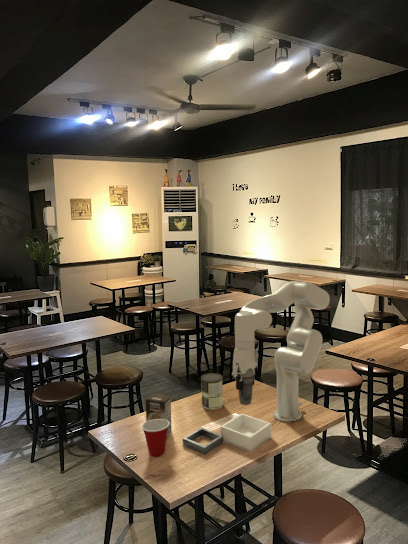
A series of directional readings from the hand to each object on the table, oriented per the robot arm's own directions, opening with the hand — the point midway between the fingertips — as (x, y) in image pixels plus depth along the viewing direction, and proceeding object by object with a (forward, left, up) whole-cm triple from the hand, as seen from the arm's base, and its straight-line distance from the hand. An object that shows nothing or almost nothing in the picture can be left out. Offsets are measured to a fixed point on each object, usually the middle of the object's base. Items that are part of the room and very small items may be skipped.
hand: (245, 386), depth 175 cm
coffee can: (-16, -31, -23) cm, 42 cm away
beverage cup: (0, 0, -7) cm, 7 cm away
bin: (0, 0, -22) cm, 22 cm away
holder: (+14, -11, -22) cm, 28 cm away
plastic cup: (+30, -21, -22) cm, 43 cm away
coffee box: (+19, -31, -23) cm, 43 cm away
